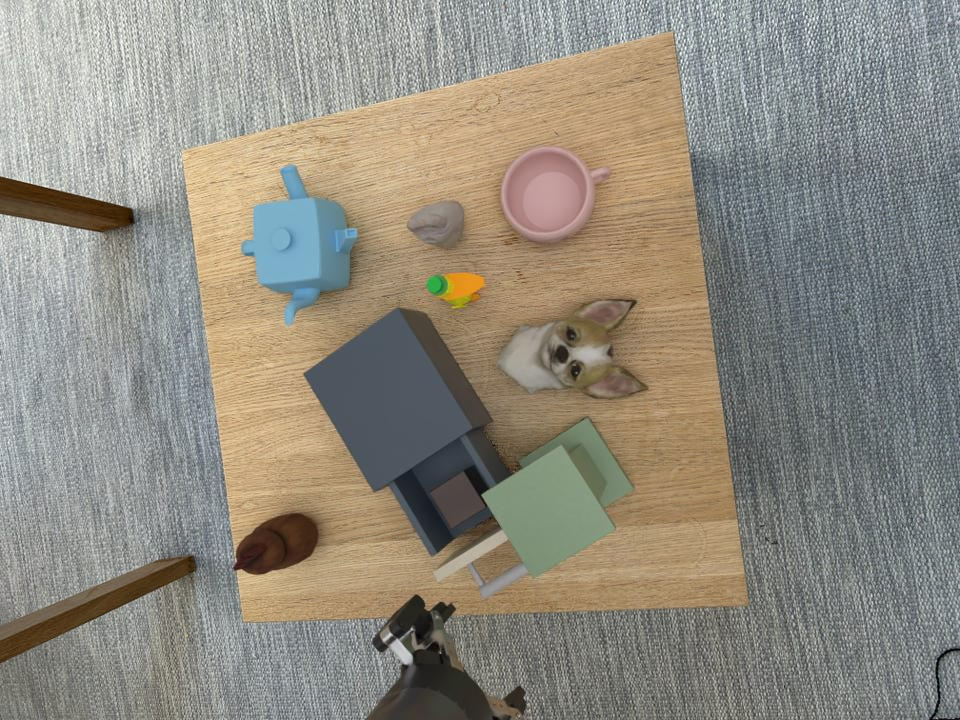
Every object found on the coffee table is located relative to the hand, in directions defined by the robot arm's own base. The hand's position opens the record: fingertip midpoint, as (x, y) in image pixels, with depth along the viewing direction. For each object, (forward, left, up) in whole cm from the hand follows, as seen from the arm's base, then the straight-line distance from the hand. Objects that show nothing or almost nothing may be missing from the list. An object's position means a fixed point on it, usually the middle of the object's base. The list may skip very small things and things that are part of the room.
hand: (479, 653), depth 63 cm
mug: (+33, -26, -23) cm, 48 cm away
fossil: (+37, -14, -23) cm, 46 cm away
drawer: (+10, 0, -22) cm, 24 cm away
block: (+11, 0, -21) cm, 23 cm away
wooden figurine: (+18, +21, -23) cm, 36 cm away
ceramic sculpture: (+18, -18, -23) cm, 34 cm away
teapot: (+44, 0, -23) cm, 49 cm away
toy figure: (+30, -12, -23) cm, 39 cm away
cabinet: (+24, 0, -23) cm, 33 cm away
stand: (+7, -11, -23) cm, 26 cm away
